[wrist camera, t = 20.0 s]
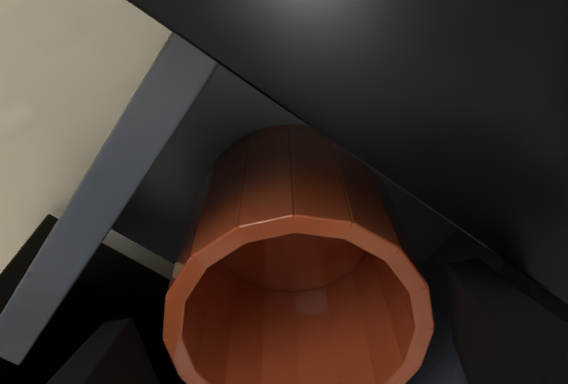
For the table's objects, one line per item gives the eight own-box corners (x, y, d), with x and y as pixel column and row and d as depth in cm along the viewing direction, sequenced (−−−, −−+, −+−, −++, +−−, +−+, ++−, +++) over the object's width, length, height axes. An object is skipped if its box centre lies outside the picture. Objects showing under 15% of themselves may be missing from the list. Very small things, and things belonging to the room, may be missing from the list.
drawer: (249, 461, 21) (238, 673, 15) (-25, 335, 18) (-174, 537, 12) (583, 132, 15) (786, 267, 9) (258, -139, 12) (239, -204, 6)
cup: (319, 317, 17) (334, 458, 12) (164, 242, 16) (119, 369, 11) (425, 185, 15) (490, 297, 10) (257, 86, 14) (248, 164, 9)
